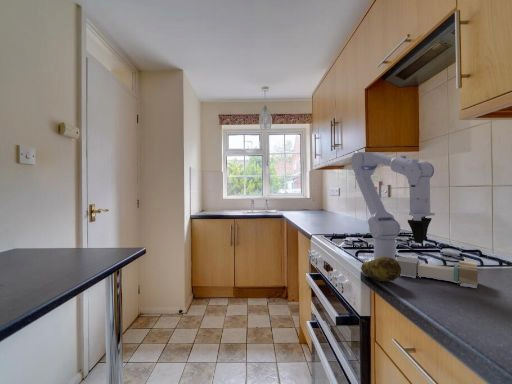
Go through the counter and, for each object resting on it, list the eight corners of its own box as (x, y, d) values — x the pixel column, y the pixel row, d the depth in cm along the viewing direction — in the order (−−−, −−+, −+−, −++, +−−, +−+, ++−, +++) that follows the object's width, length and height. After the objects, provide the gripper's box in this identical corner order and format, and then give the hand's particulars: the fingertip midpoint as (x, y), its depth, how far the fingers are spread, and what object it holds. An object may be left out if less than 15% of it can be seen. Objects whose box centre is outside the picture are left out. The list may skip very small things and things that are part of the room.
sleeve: (398, 270, 92) (398, 256, 92) (418, 273, 88) (418, 258, 88) (394, 275, 87) (394, 260, 86) (416, 278, 83) (416, 263, 83)
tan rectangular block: (459, 279, 82) (459, 260, 82) (476, 282, 80) (476, 262, 79) (459, 286, 77) (459, 265, 77) (477, 289, 74) (477, 268, 74)
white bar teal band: (419, 273, 88) (419, 259, 87) (466, 280, 80) (466, 265, 80) (417, 277, 83) (417, 262, 83) (467, 285, 76) (467, 269, 76)
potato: (385, 274, 87) (385, 249, 87) (405, 290, 74) (406, 260, 74) (358, 274, 87) (358, 249, 87) (374, 289, 75) (374, 260, 74)
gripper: (432, 199, 80) (433, 246, 80) (436, 198, 92) (436, 239, 92) (405, 199, 84) (405, 243, 84) (412, 198, 96) (412, 237, 96)
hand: (420, 241), depth 88 cm, fingers open, 7 cm apart
